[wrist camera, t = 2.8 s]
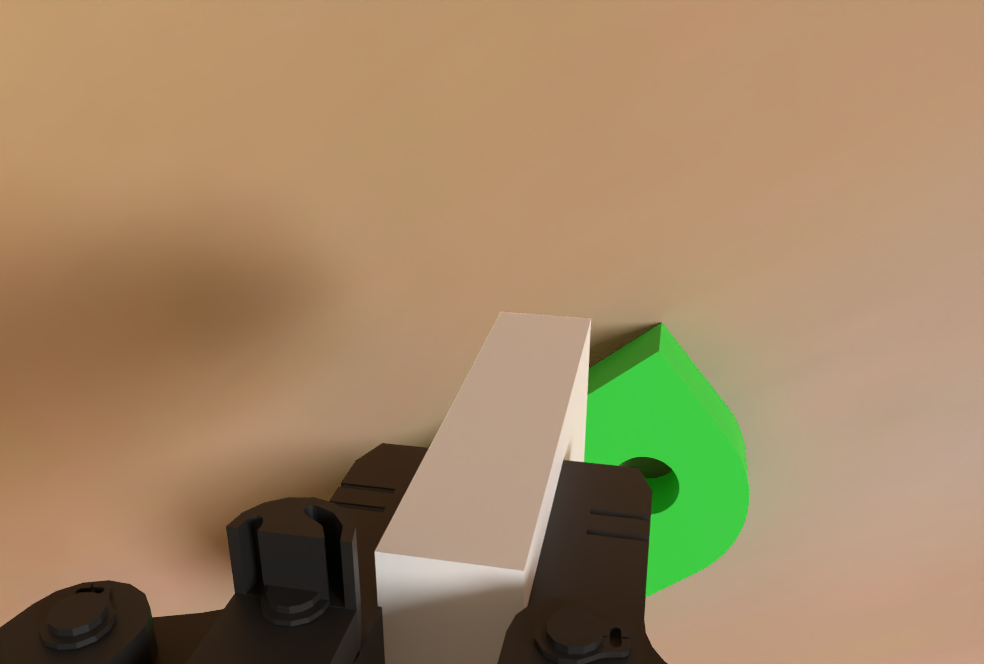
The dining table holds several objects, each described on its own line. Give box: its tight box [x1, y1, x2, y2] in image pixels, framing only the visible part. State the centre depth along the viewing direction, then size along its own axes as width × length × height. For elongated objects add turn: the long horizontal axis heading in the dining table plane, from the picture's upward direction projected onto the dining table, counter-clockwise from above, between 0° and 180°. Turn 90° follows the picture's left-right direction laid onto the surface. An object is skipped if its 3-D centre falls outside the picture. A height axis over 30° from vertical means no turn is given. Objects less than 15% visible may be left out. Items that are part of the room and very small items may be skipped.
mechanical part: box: [584, 322, 749, 597], centre depth 23 cm, size 12×6×8 cm, turn 130°
